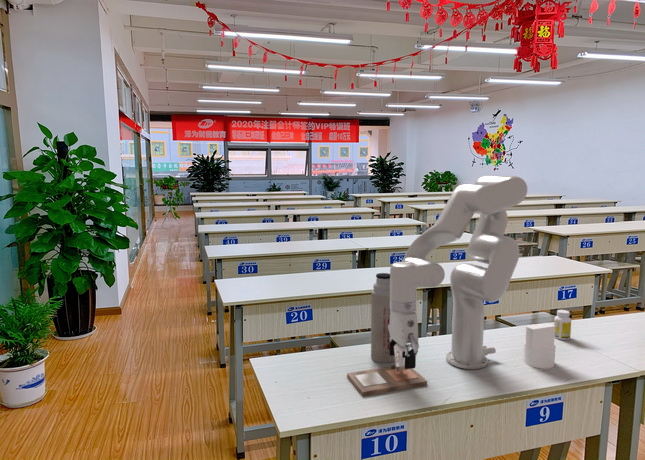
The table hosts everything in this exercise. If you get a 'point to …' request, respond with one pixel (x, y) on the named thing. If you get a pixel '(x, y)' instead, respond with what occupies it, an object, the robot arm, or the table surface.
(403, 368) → the milkshake
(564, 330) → the supplement bottle
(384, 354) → the thermos bottle
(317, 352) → the table surface
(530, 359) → the base with upright slab
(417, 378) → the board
